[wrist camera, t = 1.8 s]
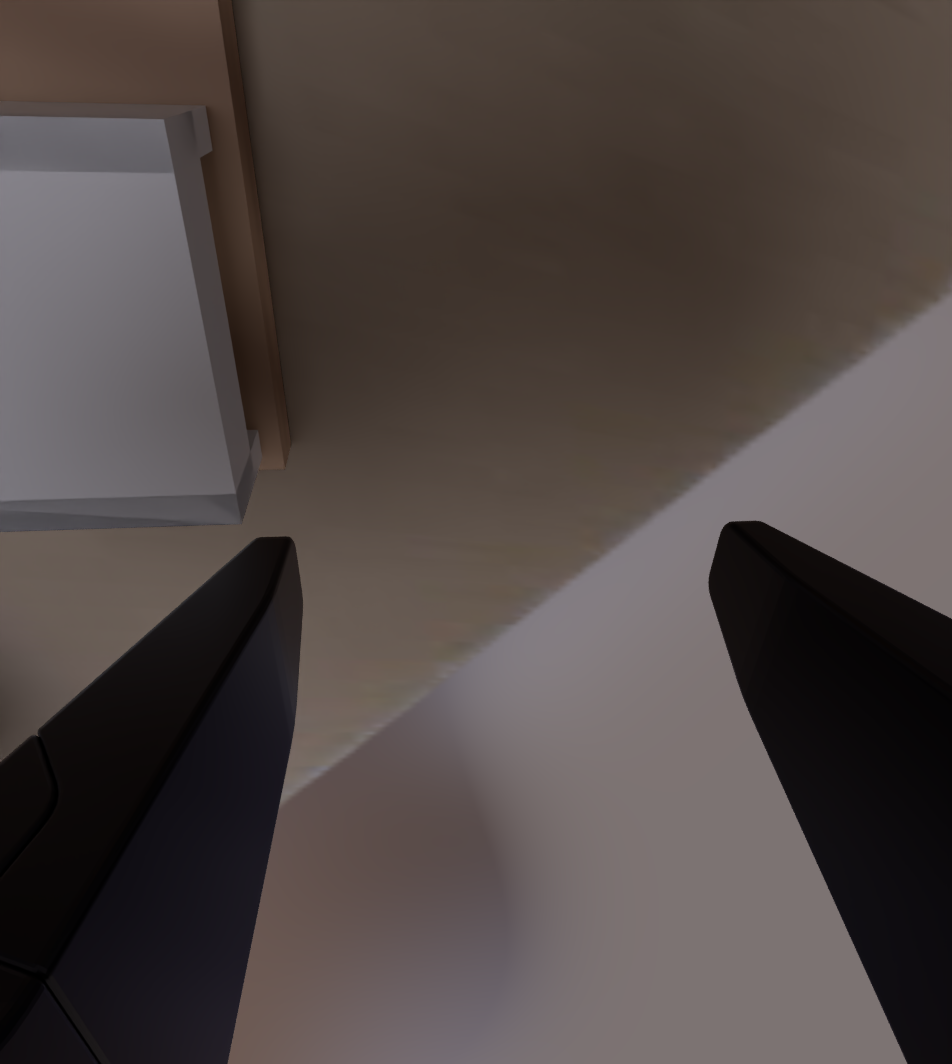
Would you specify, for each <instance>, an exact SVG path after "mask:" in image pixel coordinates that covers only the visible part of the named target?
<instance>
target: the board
mask: <svg viewBox="0 0 952 1064" xmlns="http://www.w3.org/2000/svg"><path fill="white" fill-rule="evenodd" d="M0 101H27V102H70V103H113V104H156V105H200V106H206V113H207V119H208V125H209V131H210V137H211V143H212V150H213V151H211V152H209V153H208V154H206V155H204V156H202V157H201V158H200V161H201V167H202V173H203V179H204V185H205V190H206V196H207V202H208V208H209V214H210V219H211V225H212V231H213V237H214V243H215V248H216V254H217V260H218V266H219V272H220V278H221V283H222V289H223V295H224V301H225V307H226V312H227V318H228V324H229V330H230V336H231V342H232V347H233V353H234V359H235V365H236V371H237V376H238V382H239V388H240V394H241V400H242V406H243V411H244V417H245V423H246V429H247V430H258V433H259V440H260V446H261V452H262V460H261V463H260V466H259V470H284V469H285V467H286V463H287V459H288V455H289V451H290V447H291V439H290V431H289V424H288V417H287V409H286V402H285V394H284V387H283V379H282V372H281V365H280V357H279V350H278V342H277V335H276V327H275V320H274V313H273V305H272V298H271V290H270V283H269V275H268V268H267V261H266V253H265V246H264V238H263V231H262V223H261V216H260V209H259V201H258V194H257V186H256V179H255V171H254V164H253V157H252V149H251V142H250V134H249V127H248V119H247V112H246V105H245V97H244V90H243V82H242V75H241V67H240V60H239V52H238V45H237V38H236V30H235V23H234V15H233V8H232V0H0Z"/></svg>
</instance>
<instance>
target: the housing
mask: <svg viewBox="0 0 952 1064" xmlns="http://www.w3.org/2000/svg"><path fill="white" fill-rule="evenodd" d="M211 151H213V150H212V143H211V137H210V131H209V125H208V119H207V113H206V106H200V105H156V104H113V103H70V102H27V101H0V532H12V531H43V530H74V529H105V528H136V527H166V526H197V525H228V524H242V521H243V518H244V515H245V512H246V508H247V505H248V502H249V499H250V495H251V492H252V489H253V486H254V483H255V479H256V476H257V473H258V470H259V466H260V463H261V460H262V452H261V446H260V440H259V433H258V430H247V429H246V423H245V417H244V411H243V406H242V400H241V394H240V388H239V382H238V376H237V371H236V365H235V359H234V353H233V347H232V342H231V336H230V330H229V324H228V318H227V312H226V307H225V301H224V295H223V289H222V283H221V278H220V272H219V266H218V260H217V254H216V248H215V243H214V237H213V231H212V225H211V219H210V214H209V208H208V202H207V196H206V190H205V185H204V179H203V173H202V167H201V161H200V158H201V157H202V156H204V155H206V154H208V153H209V152H211Z"/></svg>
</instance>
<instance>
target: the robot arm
mask: <svg viewBox="0 0 952 1064" xmlns="http://www.w3.org/2000/svg"><path fill="white" fill-rule="evenodd" d="M709 593H710V596H711V600H712V602H713V606H714V609H715V612H716V615H717V619H718V622H719V625H720V628H721V631H722V634H723V638H724V641H725V644H726V647H727V650H728V653H729V656H730V660H731V663H732V666H733V669H734V672H735V675H736V679H737V681H738V684H739V687H740V690H741V693H742V696H743V698H744V701H745V703H746V706H747V708H748V711H749V713H750V715H751V717H752V720H753V722H754V724H755V726H756V729H757V731H758V733H759V735H760V738H761V740H762V742H763V744H764V746H765V749H766V751H767V753H768V755H769V758H770V760H771V762H772V764H773V766H774V769H775V771H776V773H777V775H778V778H779V780H780V782H781V784H782V786H783V789H784V791H785V793H786V795H787V798H788V800H789V802H790V804H791V806H792V809H793V811H794V813H795V815H796V818H797V820H798V822H799V824H800V826H801V829H802V831H803V833H804V835H805V837H806V840H807V842H808V844H809V846H810V849H811V851H812V853H813V855H814V857H815V859H816V862H817V864H818V866H819V868H820V871H821V873H822V875H823V877H824V880H825V882H826V884H827V886H828V889H829V891H830V893H831V895H832V897H833V899H834V902H835V904H836V906H837V909H838V911H839V913H840V915H841V917H842V920H843V922H844V924H845V926H846V929H847V931H848V933H849V935H850V937H851V939H852V942H853V944H854V946H855V948H856V951H857V953H858V955H859V957H860V960H861V962H862V964H863V966H864V968H865V970H866V973H867V975H868V977H869V979H870V982H871V984H872V986H873V988H874V991H875V993H876V995H877V997H878V1000H879V1002H880V1004H881V1006H882V1008H883V1011H884V1013H885V1015H886V1017H887V1020H888V1022H889V1024H890V1026H891V1028H892V1031H893V1033H894V1035H895V1037H896V1039H897V1042H898V1044H899V1046H900V1048H901V1051H902V1053H903V1055H904V1057H905V1059H906V1062H907V1064H952V619H951V618H949V617H947V616H945V615H943V614H941V613H939V612H937V611H935V610H933V609H931V608H930V607H928V606H925V605H924V604H922V603H920V602H918V601H916V600H914V599H912V598H910V597H908V596H906V595H904V594H902V593H900V592H898V591H896V590H894V589H892V588H890V587H888V586H887V585H885V584H883V583H881V582H879V581H877V580H875V579H873V578H871V577H869V576H867V575H865V574H863V573H861V572H859V571H857V570H855V569H853V568H851V567H849V566H848V565H846V564H843V563H842V562H839V561H838V560H836V559H834V558H832V557H830V556H828V555H826V554H824V553H822V552H820V551H818V550H816V549H814V548H812V547H810V546H808V545H806V544H805V543H803V542H801V541H799V540H797V539H795V538H793V537H791V536H789V535H787V534H785V533H783V532H781V531H779V530H777V529H775V528H773V527H771V526H769V525H767V524H765V523H763V522H761V521H735V522H729V523H727V524H726V525H725V526H724V527H723V529H722V531H721V534H720V537H719V540H718V544H717V548H716V551H715V556H714V559H713V563H712V566H711V570H710V574H709ZM302 616H303V597H302V588H301V581H300V574H299V567H298V560H297V553H296V547H295V543H294V541H293V540H292V538H290V537H259V538H256V539H255V540H253V541H252V542H251V543H249V544H248V545H247V546H246V547H245V548H244V549H243V550H242V551H240V552H239V553H238V554H237V555H236V556H235V557H234V558H232V559H231V560H230V561H229V562H228V563H227V564H226V565H224V566H223V567H222V568H221V569H220V570H219V571H218V572H217V573H215V574H214V575H213V576H212V577H211V578H210V579H209V580H207V581H206V582H205V583H204V584H203V585H202V586H201V587H200V588H198V589H197V590H196V591H195V592H194V593H193V594H192V595H190V596H189V597H188V598H187V599H186V600H185V601H184V602H182V603H181V604H180V605H179V606H178V607H177V608H176V609H175V610H173V611H172V612H171V613H170V614H169V615H168V616H167V617H165V618H164V619H163V620H162V621H161V622H160V623H159V624H157V625H156V626H155V627H154V628H153V629H152V630H151V631H150V632H148V633H147V634H146V635H145V636H144V637H143V638H142V639H140V640H139V641H138V642H137V643H136V644H135V645H134V646H133V647H131V648H130V649H129V650H128V651H127V652H126V653H125V654H123V655H122V656H121V657H120V658H119V659H118V660H117V661H115V662H114V663H113V664H112V665H111V666H110V667H109V668H108V669H106V670H105V671H104V672H103V673H102V674H101V675H100V676H98V677H97V678H96V679H95V680H94V681H93V682H92V683H91V684H89V685H88V686H87V687H86V688H85V689H84V690H83V691H81V692H80V693H79V694H78V695H77V696H76V697H75V698H73V699H72V700H71V701H70V702H69V703H68V704H67V705H66V706H64V707H63V708H62V709H61V710H60V711H59V712H58V713H56V714H55V715H54V716H53V717H52V718H51V719H50V720H48V721H47V722H46V723H45V724H44V725H43V726H42V727H41V728H39V730H38V736H39V737H38V736H36V735H32V736H30V737H29V738H28V739H26V740H25V741H24V742H23V743H22V744H21V745H20V746H19V747H17V748H16V749H15V750H14V751H13V752H12V753H11V754H9V755H8V756H7V757H6V758H5V759H4V760H3V761H1V762H0V1064H227V1063H228V1058H229V1053H230V1048H231V1043H232V1038H233V1033H234V1028H235V1023H236V1018H237V1013H238V1008H239V1003H240V998H241V993H242V988H243V983H244V978H245V973H246V968H247V963H248V958H249V953H250V948H251V943H252V939H253V933H254V929H255V924H256V918H257V914H258V909H259V903H260V898H261V893H262V889H263V884H264V879H265V874H266V869H267V864H268V858H269V853H270V849H271V843H272V838H273V833H274V828H275V824H276V819H277V814H278V809H279V804H280V799H281V794H282V789H283V784H284V779H285V774H286V769H287V764H288V759H289V754H290V749H291V743H292V737H293V731H294V725H295V715H296V706H297V691H298V676H299V661H300V646H301V631H302Z"/></svg>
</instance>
